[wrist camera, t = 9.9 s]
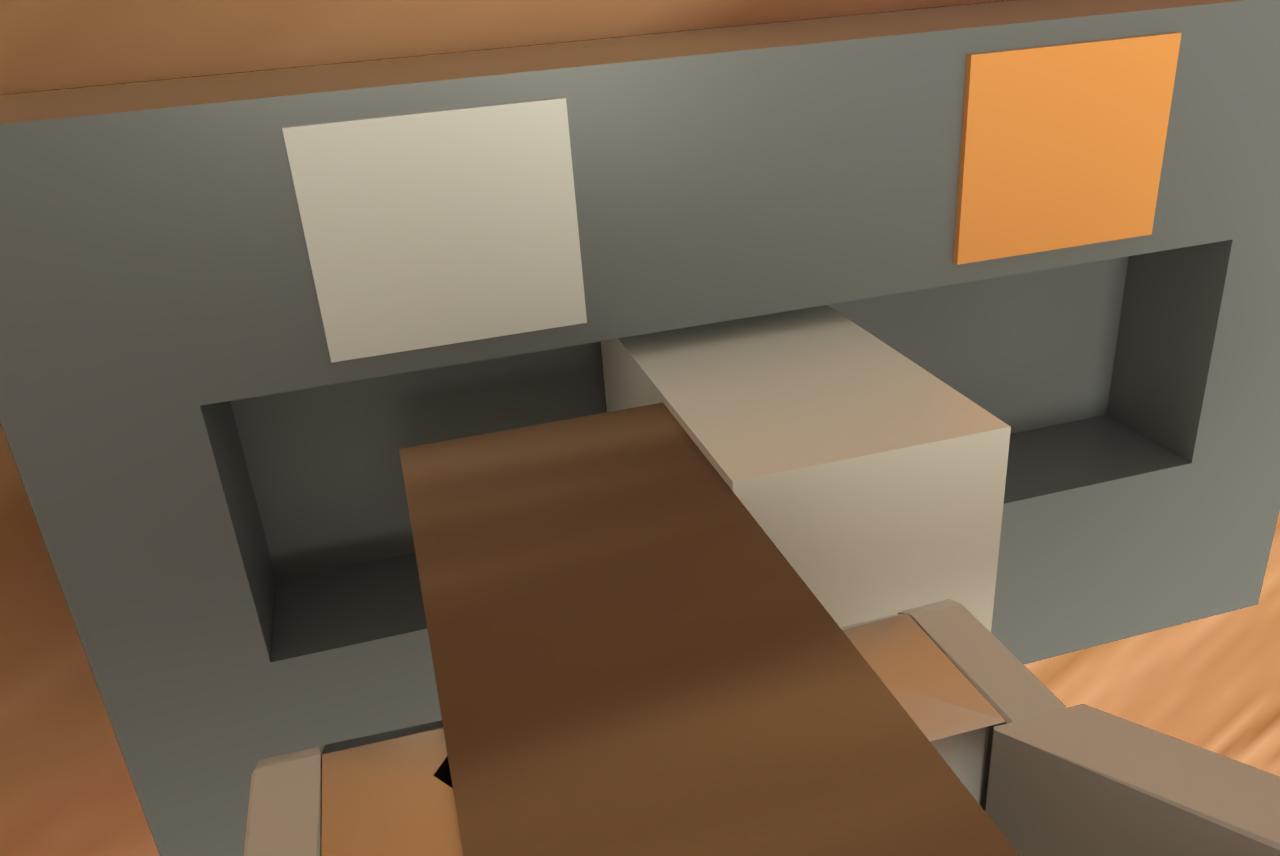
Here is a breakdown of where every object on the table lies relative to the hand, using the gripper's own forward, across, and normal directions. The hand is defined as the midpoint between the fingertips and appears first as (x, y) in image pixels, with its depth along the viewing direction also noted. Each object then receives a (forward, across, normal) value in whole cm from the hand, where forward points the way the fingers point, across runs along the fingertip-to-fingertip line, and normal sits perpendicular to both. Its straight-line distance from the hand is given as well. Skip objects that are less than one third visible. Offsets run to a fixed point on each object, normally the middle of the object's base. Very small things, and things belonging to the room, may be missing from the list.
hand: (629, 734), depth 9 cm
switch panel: (+8, -3, 0) cm, 9 cm away
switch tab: (+7, -3, 0) cm, 7 cm away
